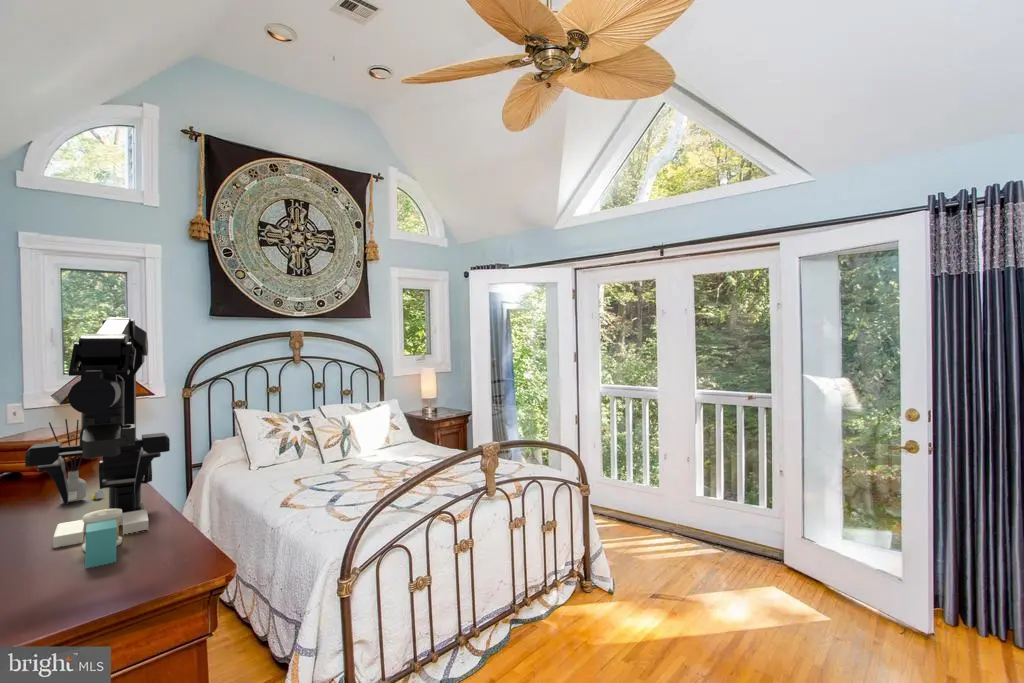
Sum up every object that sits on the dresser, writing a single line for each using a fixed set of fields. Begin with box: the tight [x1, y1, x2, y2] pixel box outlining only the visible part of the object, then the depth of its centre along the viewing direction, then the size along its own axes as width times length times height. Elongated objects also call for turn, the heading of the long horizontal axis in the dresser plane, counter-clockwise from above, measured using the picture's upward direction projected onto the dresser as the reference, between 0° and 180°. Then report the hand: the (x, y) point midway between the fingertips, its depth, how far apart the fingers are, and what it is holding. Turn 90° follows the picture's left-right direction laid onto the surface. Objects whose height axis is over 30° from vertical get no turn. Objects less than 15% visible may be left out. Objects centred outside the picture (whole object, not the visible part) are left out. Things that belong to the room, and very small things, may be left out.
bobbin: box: [81, 508, 123, 553], centre depth 91 cm, size 6×6×6 cm
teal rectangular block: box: [84, 519, 117, 569], centre depth 85 cm, size 5×4×6 cm
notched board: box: [52, 508, 149, 549], centre depth 98 cm, size 9×14×2 cm, turn 129°
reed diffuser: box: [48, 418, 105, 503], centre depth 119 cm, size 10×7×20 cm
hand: (102, 498), depth 85 cm, fingers open, 9 cm apart
